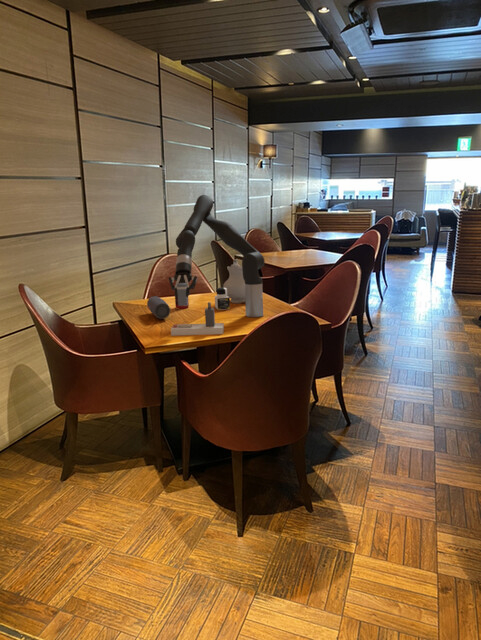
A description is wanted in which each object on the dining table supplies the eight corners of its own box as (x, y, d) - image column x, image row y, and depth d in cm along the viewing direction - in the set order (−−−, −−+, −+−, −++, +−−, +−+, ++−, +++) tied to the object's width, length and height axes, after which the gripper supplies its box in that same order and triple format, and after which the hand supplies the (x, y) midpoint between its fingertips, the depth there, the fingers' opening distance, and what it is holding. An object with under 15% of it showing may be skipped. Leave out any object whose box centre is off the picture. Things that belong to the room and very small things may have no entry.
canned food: (189, 306, 287) (188, 287, 285) (188, 308, 280) (187, 290, 277) (176, 306, 287) (175, 288, 285) (175, 309, 279) (173, 290, 277)
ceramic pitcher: (218, 301, 304) (214, 262, 297) (246, 295, 311) (242, 257, 304) (232, 307, 284) (228, 265, 278) (262, 301, 292) (258, 260, 285)
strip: (223, 329, 232) (222, 300, 228) (223, 333, 223) (221, 304, 220) (174, 330, 232) (172, 302, 229) (171, 335, 224) (169, 306, 220)
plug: (188, 303, 227) (186, 282, 225) (187, 305, 223) (185, 284, 221) (179, 304, 227) (178, 283, 225) (178, 305, 223) (176, 284, 221)
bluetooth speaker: (146, 313, 272) (145, 296, 270) (163, 311, 275) (161, 294, 273) (154, 322, 251) (152, 303, 249) (171, 319, 254) (170, 301, 252)
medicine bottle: (217, 310, 273) (216, 289, 270) (215, 308, 280) (214, 287, 277) (230, 309, 275) (229, 288, 272) (227, 306, 281) (226, 286, 278)
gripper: (199, 270, 234) (198, 300, 225) (170, 271, 234) (167, 301, 225) (197, 260, 228) (196, 290, 219) (167, 262, 228) (165, 291, 219)
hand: (181, 295), depth 222 cm, fingers closed on plug, 4 cm apart
